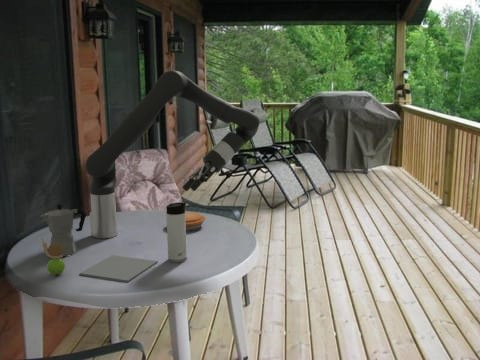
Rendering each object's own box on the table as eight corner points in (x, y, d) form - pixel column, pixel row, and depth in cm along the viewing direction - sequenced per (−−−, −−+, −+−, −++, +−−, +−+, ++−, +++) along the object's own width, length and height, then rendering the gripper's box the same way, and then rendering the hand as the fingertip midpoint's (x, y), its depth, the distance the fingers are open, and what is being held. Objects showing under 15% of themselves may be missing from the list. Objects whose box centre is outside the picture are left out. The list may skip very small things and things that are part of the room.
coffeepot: (45, 260, 186) (40, 209, 182) (42, 252, 194) (38, 203, 191) (91, 253, 192) (87, 204, 189) (86, 245, 201) (83, 198, 197)
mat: (79, 274, 172) (79, 273, 172) (112, 256, 189) (112, 255, 189) (128, 282, 166) (128, 280, 166) (157, 262, 182) (157, 261, 182)
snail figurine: (47, 271, 176) (43, 235, 173) (67, 270, 176) (64, 235, 174) (42, 277, 170) (39, 241, 168) (63, 276, 171) (60, 240, 169)
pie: (162, 231, 217) (161, 219, 216) (175, 221, 232) (174, 209, 231) (199, 233, 214) (198, 221, 213) (209, 222, 229) (209, 211, 228)
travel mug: (184, 263, 181) (182, 205, 177) (165, 262, 183) (163, 204, 179) (190, 257, 187) (188, 200, 183) (171, 256, 189) (169, 200, 185)
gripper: (205, 150, 197) (174, 182, 192) (219, 147, 184) (186, 181, 179) (218, 165, 199) (189, 196, 194) (233, 163, 186) (202, 197, 181)
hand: (188, 189), depth 186 cm, fingers open, 8 cm apart
